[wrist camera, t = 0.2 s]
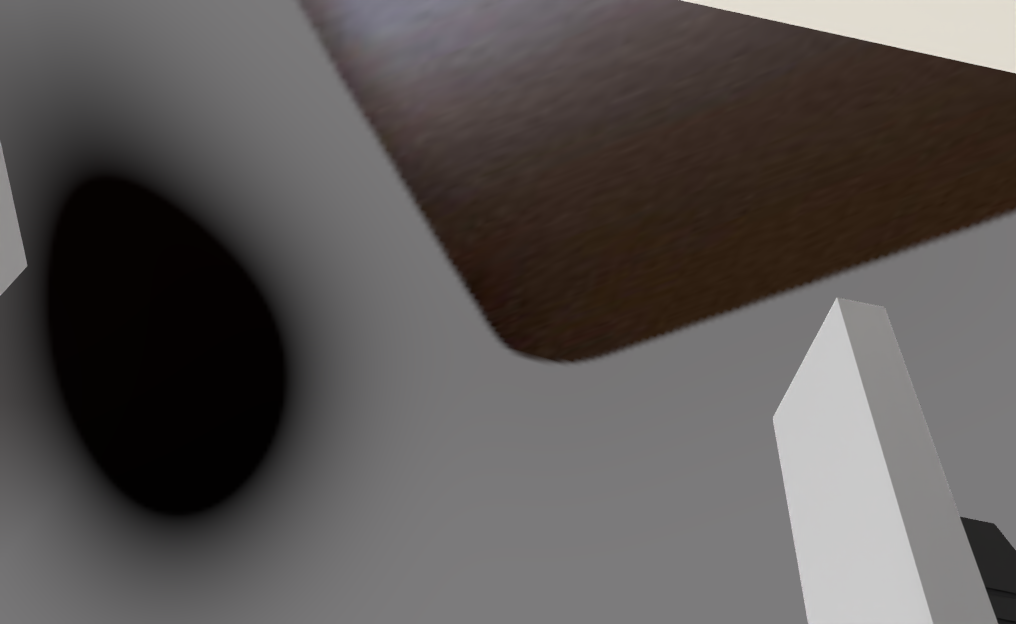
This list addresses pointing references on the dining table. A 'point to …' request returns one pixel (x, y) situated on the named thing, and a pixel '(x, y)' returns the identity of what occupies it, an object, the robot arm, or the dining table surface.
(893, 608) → the robot arm
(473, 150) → the dining table surface
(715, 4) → the cabinet
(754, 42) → the dining table surface
